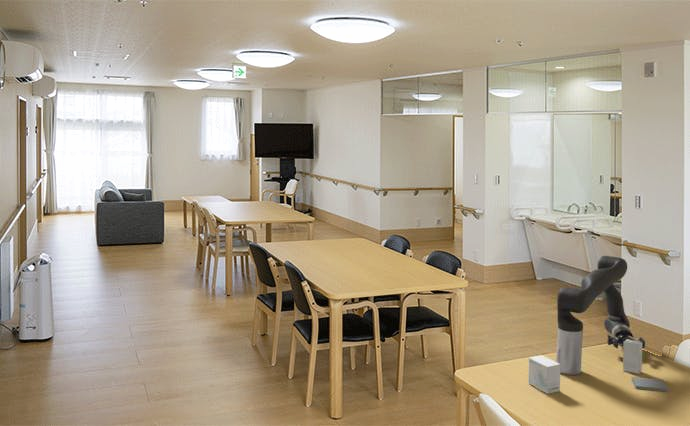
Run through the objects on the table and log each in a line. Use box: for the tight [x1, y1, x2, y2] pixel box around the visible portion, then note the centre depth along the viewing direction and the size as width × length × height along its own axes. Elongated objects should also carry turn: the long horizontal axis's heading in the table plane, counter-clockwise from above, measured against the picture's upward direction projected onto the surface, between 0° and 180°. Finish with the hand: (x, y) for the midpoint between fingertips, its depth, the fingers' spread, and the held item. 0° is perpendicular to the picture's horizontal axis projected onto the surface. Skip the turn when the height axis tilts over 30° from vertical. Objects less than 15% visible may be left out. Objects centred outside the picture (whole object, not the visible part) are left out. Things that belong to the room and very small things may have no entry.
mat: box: [631, 376, 669, 392], centre depth 239 cm, size 11×9×1 cm
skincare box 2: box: [622, 339, 643, 375], centre depth 252 cm, size 6×4×12 cm
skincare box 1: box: [528, 354, 561, 395], centre depth 236 cm, size 10×6×10 cm, turn 23°
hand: (628, 347), depth 262 cm, fingers open, 8 cm apart
